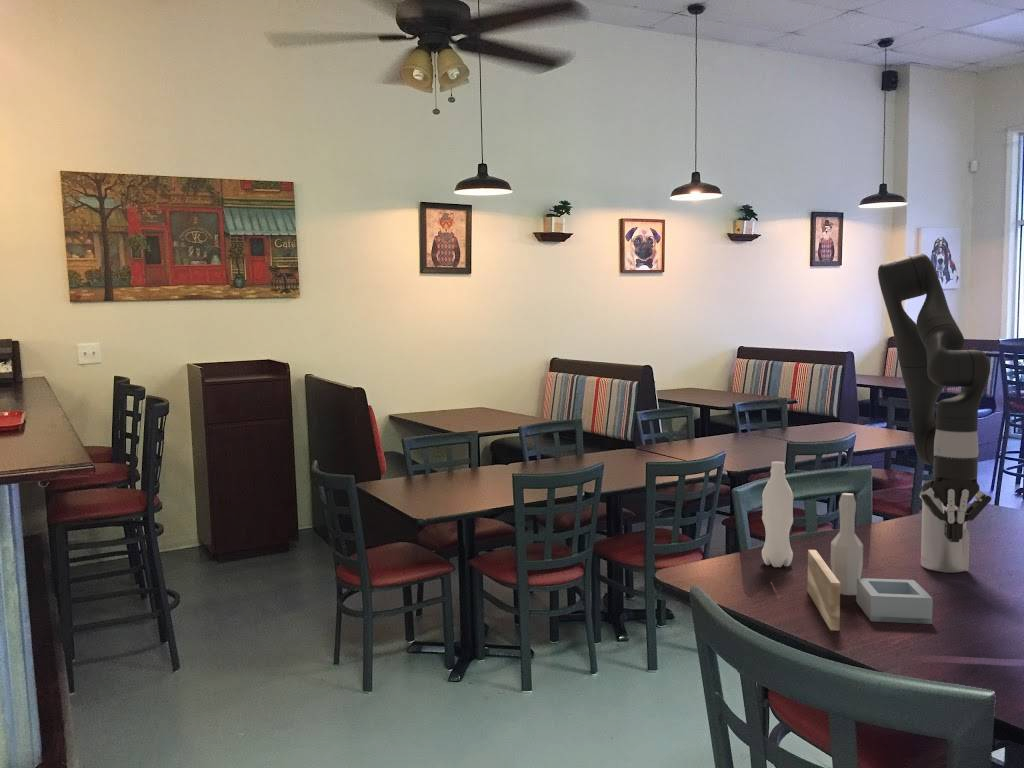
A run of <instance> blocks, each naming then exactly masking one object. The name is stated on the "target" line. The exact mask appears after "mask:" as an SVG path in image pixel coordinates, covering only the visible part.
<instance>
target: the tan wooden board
mask: <svg viewBox="0 0 1024 768" xmlns="http://www.w3.org/2000/svg"><path fill="white" fill-rule="evenodd" d="M807 593H808V595H809V596H810V599H811V600H812V602H813V603H814V604H815V606H816V608H817V610H818V612H819V613H820V616H821V617H822V619H823V620H824V622H825V623H826V625H827V627H828V629H829V630H830V631H840V625H841V623H840V622H841V621H840V617H841V616H840V614H841V613H840V610H841V607H840V606H841V594H840V582H839V581H838V579H837V578H836V577H835V575H834V574H833V573H832V569H831V568H830V567H829V566H828V565H827V563H826V562H825V561H824V559H823V558H822V556H821V555H820V553H819V552H818V551H817V550H816V549H807Z"/></svg>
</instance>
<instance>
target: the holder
mask: <svg viewBox="0 0 1024 768" xmlns="http://www.w3.org/2000/svg"><path fill="white" fill-rule="evenodd" d="M855 596H856V599H855V600H856V601H855V602H856V603H857V605H858V606H859V607H860V608H861V610H862V611H863V613H864V614H865V616H867V618H868V619H869V621H870V622H881V623H900V624H901V623H904V624H905V623H906V624H922V625H923V624H924V625H925V624H927V625H928V624H929V625H931V624H932V625H933V605H934V604H933V601H934V600H933V597H932V596H931V595H930V594H929V593H928V592H927V591H926V590H925V589H924V588H923V587H922V586H921V585H920V584H919V583H918V582H917V581H916V580H915V579H895V578H891V579H889V578H867V577H865V578H864V577H861V578H857V594H856V595H855Z"/></svg>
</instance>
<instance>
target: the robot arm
mask: <svg viewBox="0 0 1024 768" xmlns="http://www.w3.org/2000/svg"><path fill="white" fill-rule="evenodd" d="M877 276H878V277H877V278H878V283H879V287H880V291H881V296H882V297H883V302H884V305H885V308H886V311H887V315H888V318H889V321H890V324H891V328H892V333H893V336H894V342H895V348H896V354H897V356H898V363H899V368H900V372H901V376H902V380H903V383H904V386H905V391H906V395H907V400H908V405H909V411H910V419H911V426H912V434H913V435H912V436H913V442H914V449H915V452H916V455H917V458H918V459H919V461H920V462H921V463H923V464H926V465H930V466H932V467H933V468H932V469H933V471H932V475H933V476H932V479H930V480H926V481H924V482H923V484H922V491H920V492H919V493H918V498H919V499H920V500H921V501H922V502H921V506H922V507H921V539H920V540H921V541H920V542H921V545H920V547H921V551H920V552H921V554H920V565H921V566H922V568H925V569H927V570H930V571H935V572H940V573H950V574H951V573H952V574H953V573H962V572H969V560H970V556H969V555H970V530H968V529H967V522H972V521H973V520H974V519H976V518H977V517H978V515H979V514H980V513H981V512H982V511H983V510H984V509H985V508H986V507H987V506H988V505H989V504H990V502H991V501H992V497H991V496H990V495H988V494H986V493H984V492H983V491H982V490H980V485H979V483H978V466H979V453H980V449H979V437H978V436H979V435H978V424H979V423H978V419H979V418H978V417H979V415H978V414H979V408H980V404H981V401H982V399H983V394H984V393H985V392H984V390H985V388H986V385H987V384H988V380H989V377H990V373H991V362H990V360H989V359H990V358H989V357H988V356H987V355H986V353H984V352H983V351H982V350H977V349H964V347H965V343H966V342H965V338H964V335H963V333H962V332H961V329H960V328H959V325H958V324H957V323H956V321H955V319H954V317H953V315H952V313H951V311H950V308H949V305H948V302H947V299H946V295H945V291H944V289H943V286H942V284H941V281H940V279H939V278H940V277H939V275H938V273H937V270H936V267H935V266H934V263H933V261H932V260H931V258H930V257H929V256H928V255H927V254H924V253H915V254H912V255H908V256H905V257H904V256H903V257H900V258H897V259H896V258H895V259H893V260H890V261H887V262H884V263H881V264H880V265H879V267H878V269H877ZM924 295H926V296H925V299H924V302H923V303H922V306H921V308H920V310H919V312H918V315H917V319H916V322H915V321H914V320H913V319H912V318H911V317H910V316H909V315H908V313H907V312H906V310H905V308H904V306H903V305H902V302H903V301H907V300H911V299H914V298H918V297H919V298H920V297H921V296H924ZM945 387H948V388H950V387H956V388H957V387H961V388H962V389H961V391H960V392H959V394H958V395H956V396H953V397H950V398H944V399H941V400H939V397H940V395H941V393H942V392H943V389H945ZM938 400H939V401H938ZM937 401H938V402H937ZM936 403H937V405H936ZM935 408H936V411H935ZM935 412H936V413H935ZM973 499H974V501H973V502H972V500H973ZM970 502H971V504H970V505H969V506H968V504H969V503H970Z"/></svg>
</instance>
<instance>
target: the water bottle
mask: <svg viewBox="0 0 1024 768" xmlns="http://www.w3.org/2000/svg"><path fill="white" fill-rule="evenodd" d="M769 473H770V478H769V480H768V481H767V483H766V485H765V487H764V488H763V491H762V495H761V496H762V516H761V520H762V523H763V526H764V529H765V540H764V544H763V546H762V549H761V557H762V560H763V562H764V564H765V565H766V566H770V565H771V566H772V567H774V568H777V567H779V568H781V567H783V566H784V567H785V566H787V567H790V565H791V563H792V561H793V556H794V552H793V549H792V548H791V544H790V532H791V527H792V525H793V523H794V514H793V513H794V512H793V511H794V510H793V509H794V494H793V493H794V492H793V491H792V489H791V486H790V485H789V482H788V480H787V477H786V473H787V472H786V468H785V462H784V461H776V460H775V461H771V468H770V470H769Z"/></svg>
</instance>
